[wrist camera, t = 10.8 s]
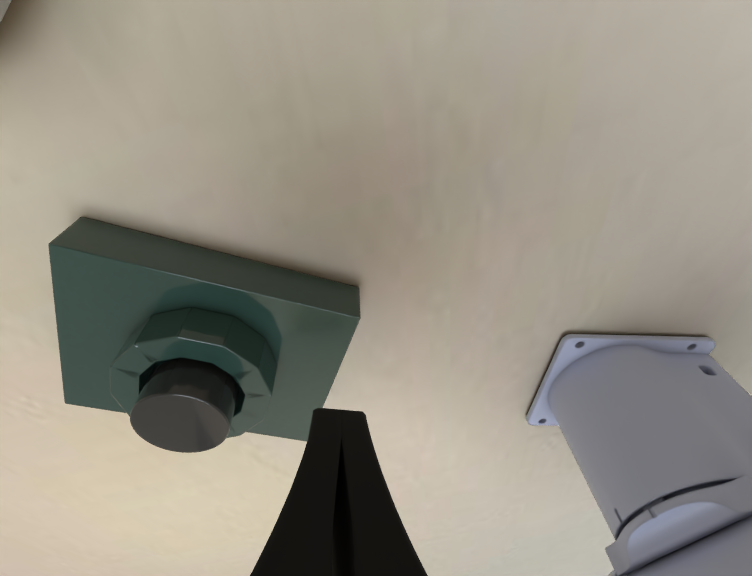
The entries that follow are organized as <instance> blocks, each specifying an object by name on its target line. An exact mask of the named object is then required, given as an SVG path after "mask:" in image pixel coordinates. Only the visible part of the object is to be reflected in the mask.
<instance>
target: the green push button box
mask: <svg viewBox="0 0 752 576" xmlns="http://www.w3.org/2000/svg"><path fill="white" fill-rule="evenodd" d="M49 254H50V264H51V274H52V283H53V293H54V303H55V313H56V322H57V332H58V342H59V351H60V361H61V371H62V380H63V390H64V400H65V403H66V404H72V405H78V406H85V407H91V408H97V409H104V410H110V411H116V412H123V413H127V414H128V415H129V416H130V413H131V410H132V408H133V406H134V404H135V402H136V400H137V398H138V396H139V394H140V392H141V390H142V389H143V387H144V385H145V383H146V381H147V379H148V377H149V375H150V373H151V372H152V370H153V369H154V368H155V367H157V366H158V365H160V364H161V363H163V362H166V361H169V360H172V359H178V358H187V359H193V360H198V361H203V362H208V363H212V364H214V365H216V366H217V367H219V368H221V369H222V370H224V371H225V372H227V373H229V374H230V375H231V376H232V377H233V378H234V380H235V381H236V383H237V385H238V389H239V397H238V401H237V405H236V408H235V412H234V416H233V419H232V423H231V427H230V430H229V433H228V436H227V437H226V438H229V437H235V436H239V435H242V434H243V433H245V432H250V433H256V434H263V435H269V436H275V437H282V438H288V439H295V440H301V441H308V436H309V431H310V425H311V420H312V414H313V410H315V409H317V408H323V405H324V403H325V401H326V398H327V396H328V393H329V391H330V389H331V386H332V384H333V382H334V379H335V377H336V375H337V372H338V370H339V367H340V365H341V363H342V360H343V358H344V356H345V353H346V351H347V349H348V346H349V344H350V341H351V339H352V337H353V334H354V332H355V330H356V327H357V325H358V323H359V320H360V295H359V287H355V286H351V285H347V284H343V283H339V282H335V281H332V280H328V279H324V278H320V277H316V276H312V275H308V274H304V273H300V272H296V271H292V270H288V269H284V268H281V267H277V266H273V265H269V264H265V263H261V262H257V261H253V260H249V259H245V258H241V257H237V256H233V255H230V254H226V253H222V252H218V251H214V250H210V249H206V248H202V247H198V246H194V245H190V244H186V243H183V242H179V241H175V240H171V239H167V238H163V237H159V236H155V235H151V234H147V233H143V232H139V231H135V230H132V229H128V228H124V227H120V226H116V225H112V224H108V223H104V222H100V221H96V220H92V219H88V218H84V217H80V218H79V219H78V220H77V221H75V222H74V223H73V224H72V225H71V226H69V227H68V228H67V229H66V230H65V231H63V232H62V233H61V234H60V235H59V236H57V237H56V238H55V239H54V240H52V241H51V242H50V243H49Z"/></svg>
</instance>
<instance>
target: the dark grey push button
mask: <svg viewBox="0 0 752 576" xmlns="http://www.w3.org/2000/svg"><path fill="white" fill-rule="evenodd" d="M238 397H239V389H238V385H237V383H236V381H235V380H234V378H233V377H232V376H231V375H230V374H229V373H227V372H225V371H224V370H222V369H221V368H219V367H217V366H216V365H214V364H212V363H208V362H203V361H198V360H193V359H187V358H178V359H172V360H169V361H166V362H163V363H161V364H160V365H158V366H157V367H155V368H154V369H153V370H152V372H151V373H150V375H149V377H148V379H147V381H146V383H145V385H144V387H143V389H142V390H141V392H140V394H139V396H138V398H137V400H136V402H135V404H134V406H133V408H132V410H131V413H130V422H131V425H132V427H133V429H134V430H135V432H136V433H137V434H138V435H139V436H140V437H141V438H143V439H144V440H146V441H147V442H149V443H151V444H153V445H155V446H157V447H160V448H163V449H166V450H170V451H175V452H185V453H192V452H201V451H206V450H209V449H212V448H214V447H216V446H218V445H219V444H221V443H222V442H223V441H224V440H225V439H226V437H227V436H228V433H229V430H230V427H231V423H232V419H233V416H234V412H235V408H236V405H237V401H238Z"/></svg>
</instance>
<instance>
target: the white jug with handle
mask: <svg viewBox="0 0 752 576" xmlns="http://www.w3.org/2000/svg"><path fill="white" fill-rule="evenodd" d="M11 1H12V0H0V22H1V20H2V18H3V16H4V14H5V12H6V10H7V8H8V6H9V4H10V2H11Z"/></svg>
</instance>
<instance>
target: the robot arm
mask: <svg viewBox="0 0 752 576" xmlns="http://www.w3.org/2000/svg"><path fill="white" fill-rule="evenodd" d="M578 342H579V343H578ZM715 345H716V343H715V342H714V341H713V340H712V339H711V338H709V337H679V336H636V335H592V334H568V335H566V336H564V337H563V338H562V340H561V341H560V343H559V346H558V348H557V350H556V352H555V355H554V357H553V359H552V361H551V363H550V366H549V368H548V370H547V372H546V374H545V377H544V379H543V381H542V383H541V386H540V388H539V390H538V392H537V394H536V397H535V399H534V401H533V403H532V405H531V408H530V410H529V412H528V414H527V417H526V419H527V422H528V424H530V425H559V427H560V429H561V431H562V433H563V435H564V437H565V439H566V441H567V443H568V445H569V447H570V449H571V451H572V453H573V455H574V457H575V459H576V461H577V463H578V465H579V467H580V469H581V471H582V473H583V475H584V477H585V479H586V481H587V484H588V486H589V488H590V490H591V492H592V494H593V496H594V498H595V500H596V502H597V504H598V506H599V508H600V510H601V512H602V514H603V516H604V518H605V520H606V522H607V524H608V526H609V528H610V530H611V532H612V534H613V536H614V538H615V540H616V541H615V542H614V543H612V544H611V545H609V546H608V547H606V548H605V550H606V553H607V555H608V557H609V559H610V561H611V563H612V565H613V568H614V570H613V571H612V572H611V573H610V574H609V576H752V397H751V396H750V395H749V394H748V393H747V392H746V391H745V390H744V389H743V388H742V387H741V386H740V385H739V384H738V383H737V382H736V381H735V380H734V379H733V378H732V377H731V376H730V375H729V374H728V373H727V372H726V371H725V370H724V369H723V368H722V367H721V366H720V365H719V364H718V363H717V362H716V361H715V360H714V359H713V358H712V357H711V356H710V355H709V354H710V353H711V351H712V350H713V349H714V347H715ZM250 576H428V575H427V574H426V572H425V570H424V568H423V566H422V564H421V562H420V560H419V558H418V556H417V554H416V552H415V550H414V548H413V546H412V543H411V541H410V539H409V537H408V535H407V533H406V530H405V528H404V526H403V524H402V521H401V519H400V517H399V514H398V512H397V510H396V507H395V505H394V502H393V500H392V498H391V495H390V492H389V490H388V487H387V484H386V482H385V479H384V476H383V474H382V471H381V468H380V465H379V462H378V459H377V456H376V453H375V450H374V446H373V443H372V440H371V436H370V432H369V428H368V424H367V420H366V415H365V414H364V413H363V412H361V411H349V410H338V409H326V408H317V409H315V410H313V414H312V420H311V425H310V431H309V436H308V441H307V444H306V448H305V451H304V454H303V457H302V460H301V463H300V466H299V468H298V471H297V474H296V477H295V479H294V482H293V485H292V487H291V490H290V492H289V494H288V497H287V499H286V501H285V504H284V506H283V508H282V511H281V513H280V515H279V518H278V520H277V522H276V524H275V526H274V529H273V531H272V533H271V535H270V537H269V539H268V541H267V543H266V545H265V547H264V549H263V551H262V553H261V555H260V557H259V559H258V561H257V563H256V565H255V567H254V569H253V571H252V573H251V575H250Z"/></svg>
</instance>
